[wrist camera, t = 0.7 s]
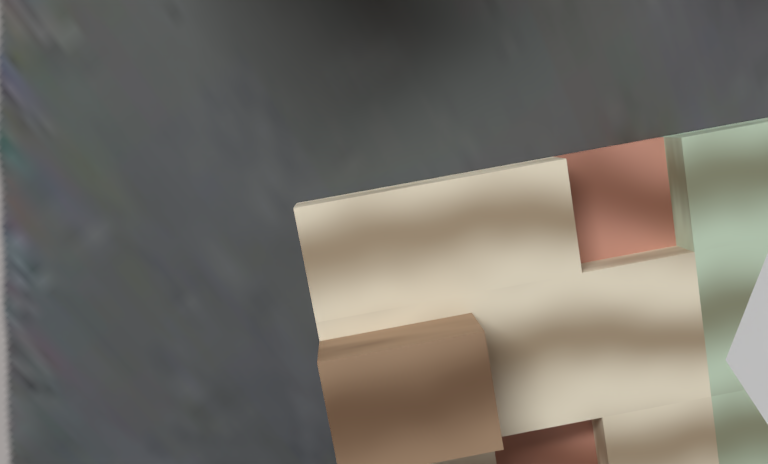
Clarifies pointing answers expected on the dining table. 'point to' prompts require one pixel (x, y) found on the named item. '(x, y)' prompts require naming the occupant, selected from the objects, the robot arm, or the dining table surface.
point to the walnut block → (410, 393)
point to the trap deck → (573, 290)
